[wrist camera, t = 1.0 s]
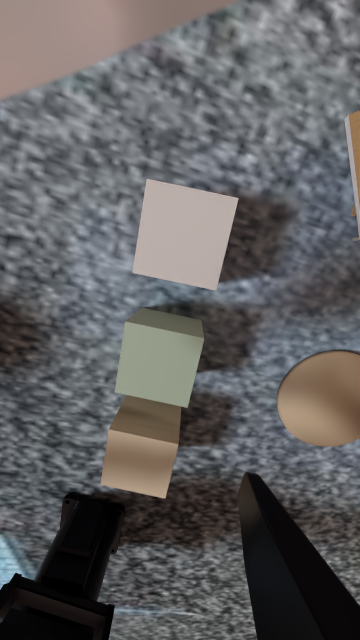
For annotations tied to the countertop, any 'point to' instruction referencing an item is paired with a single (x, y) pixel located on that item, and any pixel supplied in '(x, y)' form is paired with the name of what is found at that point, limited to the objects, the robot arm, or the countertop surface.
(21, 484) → the countertop surface
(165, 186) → the offwhite block
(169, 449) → the maple block
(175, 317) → the sage block
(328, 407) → the coaster
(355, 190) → the architectural model
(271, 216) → the countertop surface
